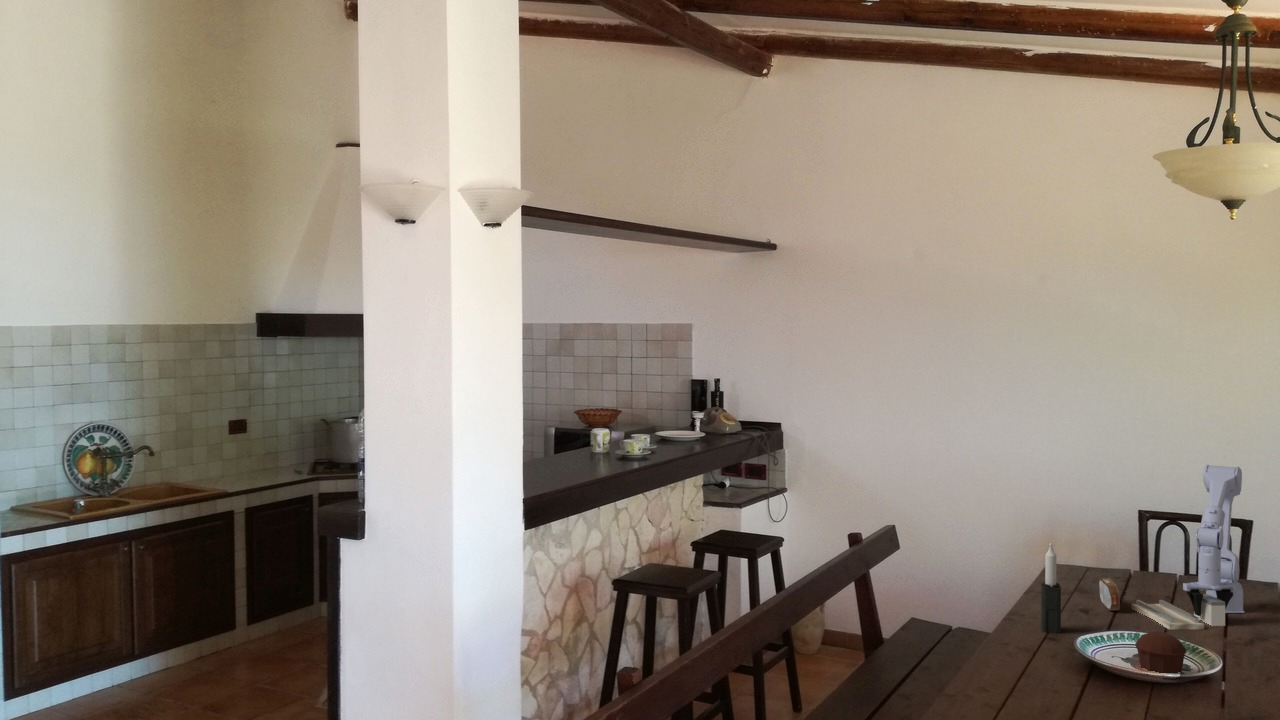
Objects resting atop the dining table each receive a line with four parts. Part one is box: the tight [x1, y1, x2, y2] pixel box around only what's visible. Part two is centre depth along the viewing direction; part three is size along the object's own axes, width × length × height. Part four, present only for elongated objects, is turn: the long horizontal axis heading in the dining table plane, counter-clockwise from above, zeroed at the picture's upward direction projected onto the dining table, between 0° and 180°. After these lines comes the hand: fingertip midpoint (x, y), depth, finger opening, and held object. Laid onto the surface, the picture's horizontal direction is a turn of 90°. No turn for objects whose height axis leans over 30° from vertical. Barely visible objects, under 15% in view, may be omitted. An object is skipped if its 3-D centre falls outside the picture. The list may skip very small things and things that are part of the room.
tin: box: [1098, 577, 1121, 612], centre depth 308 cm, size 15×3×8 cm, turn 168°
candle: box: [1040, 542, 1062, 634], centre depth 284 cm, size 5×5×25 cm
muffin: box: [1135, 630, 1187, 673], centre depth 247 cm, size 12×11×10 cm
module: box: [1193, 593, 1226, 627], centre depth 292 cm, size 4×9×7 cm, turn 0°
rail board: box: [1131, 599, 1205, 631], centre depth 295 cm, size 10×22×3 cm, turn 0°
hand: (1209, 614), depth 292 cm, fingers open, 6 cm apart
